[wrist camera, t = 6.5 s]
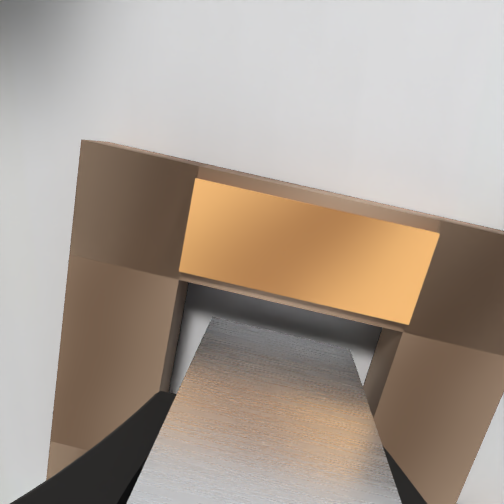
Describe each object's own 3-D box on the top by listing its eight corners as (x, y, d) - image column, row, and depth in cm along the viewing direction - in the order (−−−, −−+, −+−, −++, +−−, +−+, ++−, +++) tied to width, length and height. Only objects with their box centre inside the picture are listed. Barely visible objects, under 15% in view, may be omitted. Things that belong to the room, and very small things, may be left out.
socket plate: (859, 311, 11) (966, 339, 9) (653, 628, 13) (704, 693, 12) (107, 142, 11) (77, 139, 9) (67, 480, 14) (38, 523, 12)
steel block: (349, 349, 11) (451, 652, 4) (314, 464, 12) (351, 860, 5) (212, 316, 11) (99, 562, 4) (188, 433, 12) (65, 781, 5)
